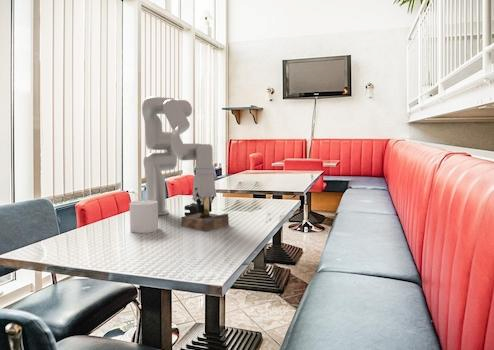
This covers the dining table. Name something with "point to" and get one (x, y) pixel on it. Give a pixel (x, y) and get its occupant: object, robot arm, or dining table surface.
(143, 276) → the dining table surface
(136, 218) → the cup
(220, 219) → the jig
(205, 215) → the gold peg
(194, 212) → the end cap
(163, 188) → the robot arm
